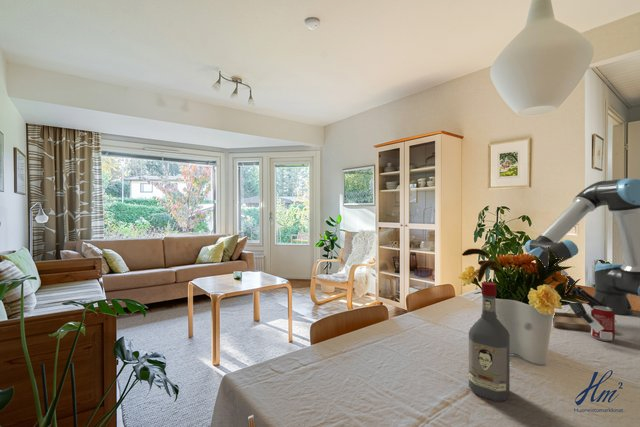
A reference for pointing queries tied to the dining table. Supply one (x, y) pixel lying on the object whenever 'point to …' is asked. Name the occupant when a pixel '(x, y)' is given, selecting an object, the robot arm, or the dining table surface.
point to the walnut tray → (570, 322)
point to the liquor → (489, 350)
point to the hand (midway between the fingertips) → (607, 326)
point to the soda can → (604, 323)
